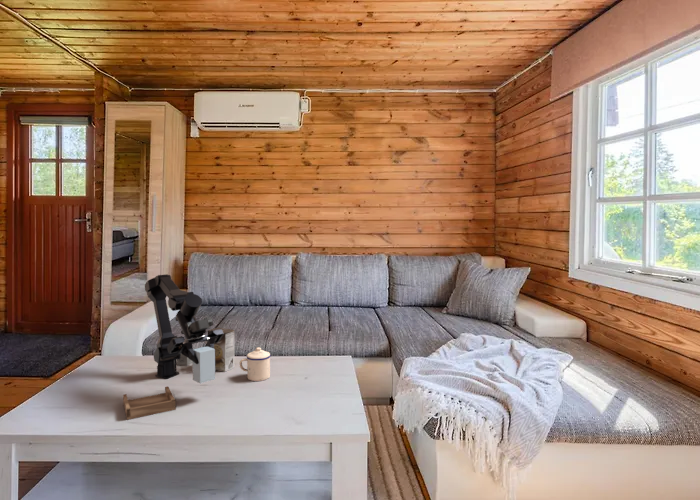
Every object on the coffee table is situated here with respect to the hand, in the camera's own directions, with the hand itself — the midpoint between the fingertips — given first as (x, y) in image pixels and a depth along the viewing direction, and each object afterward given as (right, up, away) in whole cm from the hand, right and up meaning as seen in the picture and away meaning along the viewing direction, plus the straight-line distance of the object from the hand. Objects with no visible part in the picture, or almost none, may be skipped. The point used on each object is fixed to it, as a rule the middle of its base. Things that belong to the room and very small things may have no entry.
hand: (205, 361), depth 146 cm
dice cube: (-22, -11, +39) cm, 46 cm away
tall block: (-1, -7, +1) cm, 7 cm away
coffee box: (-5, -12, +33) cm, 35 cm away
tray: (-17, -14, -4) cm, 22 cm away
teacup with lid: (+12, -12, +23) cm, 28 cm away
